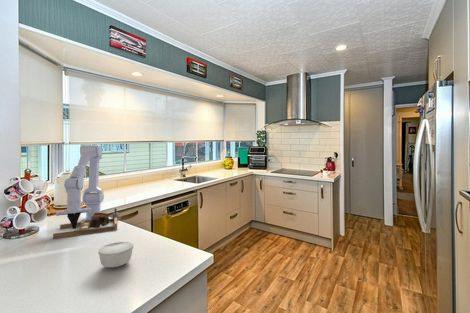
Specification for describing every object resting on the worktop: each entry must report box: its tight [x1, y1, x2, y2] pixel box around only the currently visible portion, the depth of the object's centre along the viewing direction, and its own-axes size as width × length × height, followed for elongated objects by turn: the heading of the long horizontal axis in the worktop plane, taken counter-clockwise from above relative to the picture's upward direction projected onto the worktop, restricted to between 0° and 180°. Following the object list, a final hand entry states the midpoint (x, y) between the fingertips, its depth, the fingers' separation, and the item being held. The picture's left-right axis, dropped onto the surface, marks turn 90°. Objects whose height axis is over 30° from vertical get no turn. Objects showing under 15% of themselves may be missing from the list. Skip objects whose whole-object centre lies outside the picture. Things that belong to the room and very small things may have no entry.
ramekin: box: [97, 241, 134, 268], centre depth 81 cm, size 11×11×5 cm
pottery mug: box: [89, 212, 110, 229], centre depth 122 cm, size 12×9×8 cm
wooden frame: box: [52, 207, 119, 239], centre depth 118 cm, size 18×27×8 cm, turn 118°
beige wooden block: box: [79, 219, 90, 230], centre depth 117 cm, size 11×3×4 cm, turn 28°
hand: (74, 228), depth 115 cm, fingers closed
